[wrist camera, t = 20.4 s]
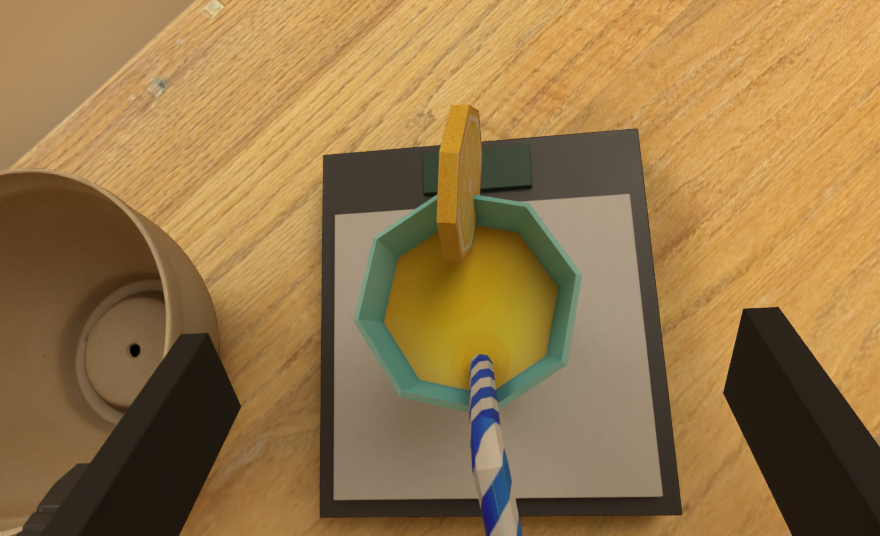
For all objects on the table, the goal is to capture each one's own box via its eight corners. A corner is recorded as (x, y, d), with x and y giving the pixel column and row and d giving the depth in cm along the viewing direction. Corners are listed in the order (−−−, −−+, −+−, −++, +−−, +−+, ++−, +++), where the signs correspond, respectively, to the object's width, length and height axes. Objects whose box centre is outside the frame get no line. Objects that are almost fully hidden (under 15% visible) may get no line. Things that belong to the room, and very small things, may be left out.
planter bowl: (67, 532, 33) (-142, 605, 22) (11, 289, 37) (-192, 253, 26) (310, 426, 32) (214, 449, 22) (228, 190, 36) (112, 112, 26)
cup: (593, 472, 26) (695, 587, 12) (436, 500, 27) (348, 641, 12) (530, 201, 29) (549, 27, 15) (390, 232, 30) (277, 93, 16)
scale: (627, 149, 33) (641, 121, 30) (665, 502, 29) (688, 519, 26) (338, 173, 35) (318, 149, 32) (336, 505, 31) (313, 521, 28)
